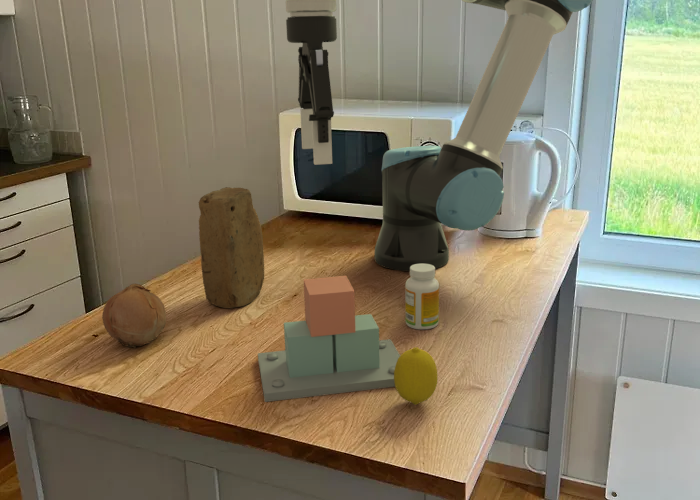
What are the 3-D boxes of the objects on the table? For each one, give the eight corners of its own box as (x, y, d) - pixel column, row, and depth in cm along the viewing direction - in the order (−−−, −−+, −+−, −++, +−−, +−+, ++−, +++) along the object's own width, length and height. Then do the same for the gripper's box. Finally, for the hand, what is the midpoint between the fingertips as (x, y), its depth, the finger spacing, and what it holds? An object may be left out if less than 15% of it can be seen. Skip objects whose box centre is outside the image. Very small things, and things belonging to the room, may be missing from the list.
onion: (139, 349, 116) (139, 287, 117) (179, 346, 110) (178, 282, 112) (89, 350, 108) (89, 284, 109) (129, 347, 103) (129, 278, 104)
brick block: (346, 315, 101) (345, 275, 99) (355, 332, 96) (354, 290, 94) (305, 319, 100) (303, 279, 98) (311, 336, 95) (309, 295, 93)
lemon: (391, 394, 94) (390, 339, 92) (432, 392, 94) (433, 337, 92) (397, 416, 89) (397, 359, 86) (441, 414, 89) (442, 356, 87)
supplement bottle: (441, 318, 117) (442, 263, 114) (434, 332, 112) (435, 274, 109) (409, 315, 119) (410, 260, 116) (401, 328, 114) (401, 271, 111)
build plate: (390, 346, 108) (390, 302, 105) (412, 384, 96) (412, 336, 94) (258, 360, 104) (255, 315, 102) (264, 401, 93) (261, 352, 91)
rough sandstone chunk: (233, 313, 121) (224, 199, 115) (200, 305, 125) (189, 194, 118) (272, 292, 130) (265, 185, 123) (240, 286, 133) (232, 181, 127)
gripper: (277, 15, 117) (284, 143, 124) (296, 14, 94) (303, 172, 100) (322, 14, 118) (326, 141, 125) (351, 13, 95) (355, 169, 102)
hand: (316, 155), depth 113 cm, fingers open, 13 cm apart
